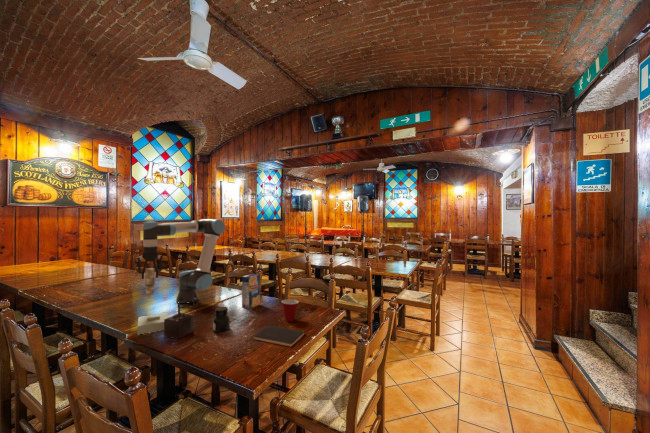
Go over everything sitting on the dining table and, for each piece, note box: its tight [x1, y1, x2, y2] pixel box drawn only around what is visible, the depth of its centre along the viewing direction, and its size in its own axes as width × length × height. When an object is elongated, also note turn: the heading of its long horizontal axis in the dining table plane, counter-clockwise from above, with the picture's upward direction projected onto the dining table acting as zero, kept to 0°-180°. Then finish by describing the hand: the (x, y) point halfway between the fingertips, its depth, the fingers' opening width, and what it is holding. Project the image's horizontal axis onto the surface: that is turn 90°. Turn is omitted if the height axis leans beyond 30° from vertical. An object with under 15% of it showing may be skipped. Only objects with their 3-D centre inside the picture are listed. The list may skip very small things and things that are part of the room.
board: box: [136, 312, 170, 336], centre depth 159 cm, size 15×16×5 cm
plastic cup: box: [281, 298, 300, 322], centre depth 173 cm, size 11×11×12 cm
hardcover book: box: [252, 324, 306, 347], centre depth 148 cm, size 16×23×2 cm
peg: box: [144, 267, 156, 295], centre depth 170 cm, size 5×5×15 cm
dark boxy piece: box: [163, 297, 201, 339], centre depth 153 cm, size 16×11×18 cm
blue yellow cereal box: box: [241, 273, 261, 310], centre depth 199 cm, size 7×11×22 cm, turn 152°
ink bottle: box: [212, 306, 231, 333], centre depth 157 cm, size 10×9×12 cm
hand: (149, 283), depth 170 cm, fingers closed on peg, 5 cm apart
